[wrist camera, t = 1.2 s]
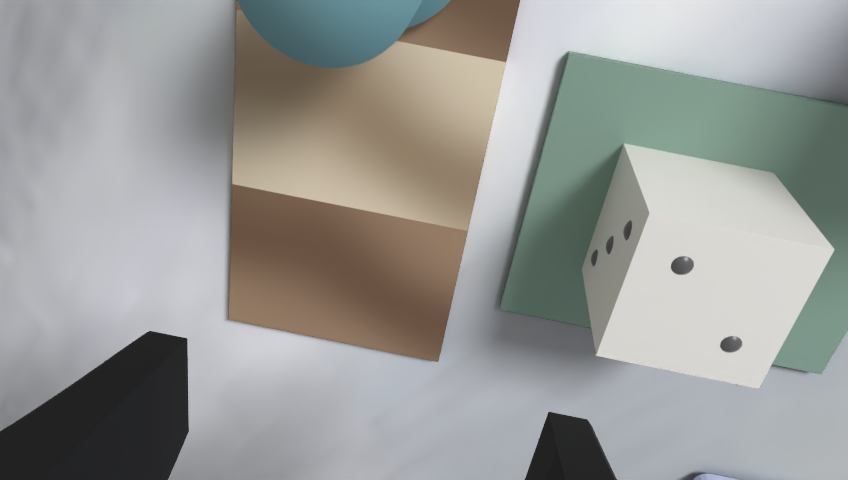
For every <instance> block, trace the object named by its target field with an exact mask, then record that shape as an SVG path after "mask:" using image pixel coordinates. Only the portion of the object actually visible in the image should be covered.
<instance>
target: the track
mask: <svg viewBox="0 0 848 480" xmlns="http://www.w3.org/2000/svg"><path fill="white" fill-rule="evenodd" d="M519 3H520V0H450V2H449V3H448V4H447V5H446V6H445V7H444V8H443V9H441V10H440V11H439V12H438V13H437V14H435V15H434V16H432V17H431V18H429V19H427V20H426V21H424V22H422V23H419V24H417V25H415V26H412V27H409V28H406V29H405V31H404V32H403V33H402V35H401V36H400V37H399V38H398V39H397V41H396V42H395V43H394V44H393V45H392V46H390V47H389V48H388V49H387V50H386V51H384V52H383V53H381V54H380V55H378V56H377V57H375V58H373V59H371V60H369V61H366V62H364V63H362V64H358V65H354V66H350V67H343V68H324V67H316V66H312V65H308V64H304V63H302V62H299V61H297V60H294V59H292V58H290V57H288V56H287V55H285V54H283V53H281V52H280V51H278V50H277V49H276V48H274V47H273V46H271V45H270V44H269V43H268V42H267V41H266V40H265V39H264V38H262V37H261V36H260V34H259V33H258V32H257V31H256V30H255V29H254V28H253V26H252V25H251V24H250V22H249V21H248V19H247V18H246V16H245V15H244V13H243V11H242V9H241V7H240V6H239V4H238V1H237V5H236V46H235V87H234V128H233V168H232V209H231V250H230V291H229V320H234V321H239V322H243V323H248V324H253V325H258V326H263V327H268V328H273V329H278V330H283V331H288V332H293V333H298V334H303V335H308V336H313V337H318V338H323V339H328V340H333V341H337V342H342V343H347V344H352V345H357V346H362V347H367V348H372V349H377V350H382V351H387V352H392V353H397V354H402V355H407V356H412V357H417V358H422V359H427V360H431V361H436V362H438V360H439V356H440V352H441V347H442V343H443V338H444V334H445V329H446V325H447V321H448V316H449V312H450V307H451V303H452V299H453V294H454V290H455V285H456V281H457V276H458V272H459V268H460V263H461V259H462V254H463V250H464V246H465V241H466V237H467V232H468V228H469V223H470V219H471V215H472V210H473V206H474V201H475V197H476V193H477V188H478V184H479V179H480V175H481V170H482V166H483V162H484V157H485V153H486V148H487V144H488V140H489V135H490V131H491V126H492V122H493V117H494V113H495V109H496V104H497V100H498V95H499V91H500V87H501V82H502V78H503V73H504V69H505V64H506V60H507V56H508V51H509V47H510V42H511V38H512V34H513V29H514V25H515V20H516V16H517V11H518V7H519Z"/></svg>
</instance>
